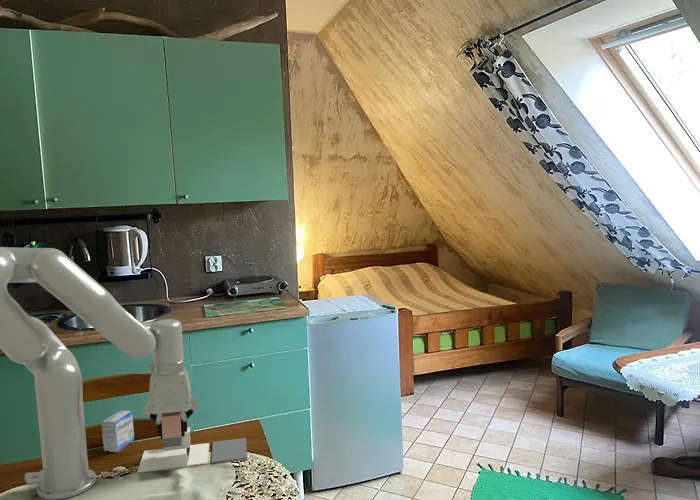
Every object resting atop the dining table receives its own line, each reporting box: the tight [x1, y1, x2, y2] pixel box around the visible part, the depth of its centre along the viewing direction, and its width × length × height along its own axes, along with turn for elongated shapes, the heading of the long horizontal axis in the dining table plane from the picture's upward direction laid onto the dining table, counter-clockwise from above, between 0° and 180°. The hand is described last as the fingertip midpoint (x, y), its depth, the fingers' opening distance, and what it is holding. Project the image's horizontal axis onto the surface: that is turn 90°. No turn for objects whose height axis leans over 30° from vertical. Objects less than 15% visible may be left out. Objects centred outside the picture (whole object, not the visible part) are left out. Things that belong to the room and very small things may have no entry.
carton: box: [137, 426, 210, 474], centre depth 145 cm, size 17×16×4 cm
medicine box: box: [100, 410, 135, 453], centre depth 153 cm, size 8×4×9 cm, turn 168°
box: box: [161, 412, 183, 449], centre depth 144 cm, size 4×6×8 cm
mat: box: [211, 437, 248, 465], centre depth 148 cm, size 9×12×1 cm
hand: (173, 434), depth 144 cm, fingers closed on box, 4 cm apart
